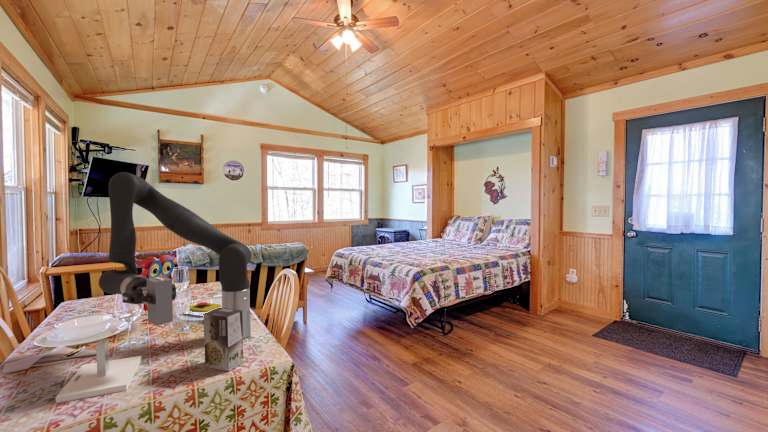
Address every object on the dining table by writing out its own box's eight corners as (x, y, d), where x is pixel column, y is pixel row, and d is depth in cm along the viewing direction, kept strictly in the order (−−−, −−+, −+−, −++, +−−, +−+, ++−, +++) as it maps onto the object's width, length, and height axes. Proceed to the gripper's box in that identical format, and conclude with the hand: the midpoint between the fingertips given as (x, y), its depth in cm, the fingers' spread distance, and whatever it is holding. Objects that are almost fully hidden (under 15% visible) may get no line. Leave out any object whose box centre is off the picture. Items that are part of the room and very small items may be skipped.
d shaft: (101, 372, 96) (100, 340, 95) (109, 370, 97) (108, 339, 96) (97, 377, 93) (96, 344, 93) (105, 376, 94) (104, 343, 93)
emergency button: (199, 298, 157) (226, 302, 153) (200, 308, 158) (226, 312, 153) (181, 304, 149) (209, 308, 144) (182, 314, 149) (209, 319, 144)
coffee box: (244, 362, 105) (243, 310, 105) (228, 372, 99) (227, 316, 99) (220, 357, 108) (219, 306, 108) (203, 367, 102) (202, 313, 101)
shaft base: (83, 369, 100) (82, 364, 100) (141, 360, 106) (141, 355, 106) (55, 403, 84) (55, 396, 84) (126, 390, 90) (126, 384, 90)
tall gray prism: (172, 321, 98) (171, 278, 98) (156, 325, 95) (155, 281, 94) (164, 317, 101) (163, 275, 101) (147, 321, 98) (146, 278, 97)
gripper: (110, 280, 100) (133, 290, 90) (164, 272, 112) (190, 280, 102) (111, 306, 101) (134, 319, 91) (165, 295, 112) (191, 305, 102)
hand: (164, 298), depth 96 cm, fingers closed on tall gray prism, 4 cm apart
